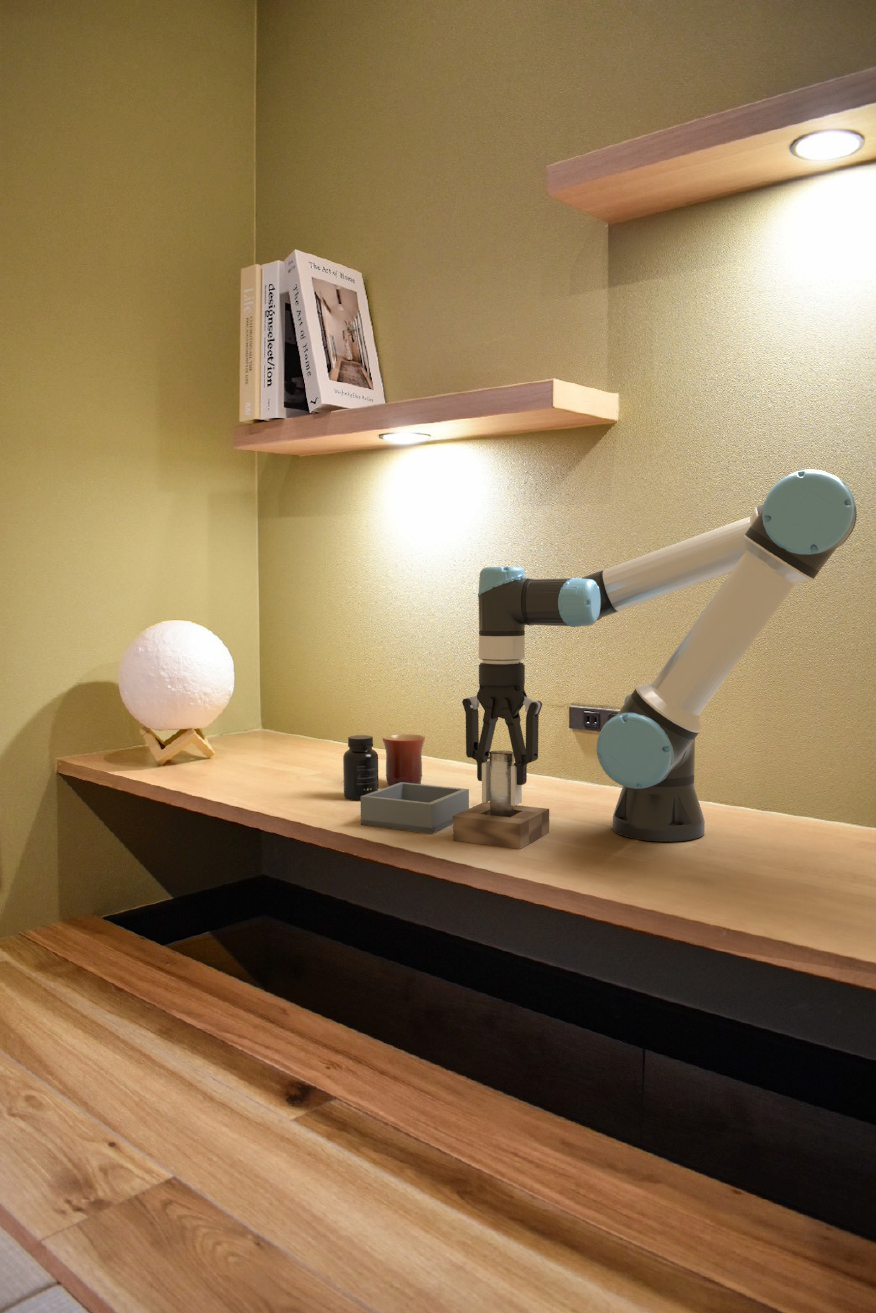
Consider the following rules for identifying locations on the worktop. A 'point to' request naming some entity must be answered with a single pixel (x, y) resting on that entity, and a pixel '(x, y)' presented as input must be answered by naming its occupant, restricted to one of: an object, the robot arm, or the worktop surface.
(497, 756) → the pin
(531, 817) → the socket block
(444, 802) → the tray
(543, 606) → the robot arm
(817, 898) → the worktop surface
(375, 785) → the supplement bottle
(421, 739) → the mug
